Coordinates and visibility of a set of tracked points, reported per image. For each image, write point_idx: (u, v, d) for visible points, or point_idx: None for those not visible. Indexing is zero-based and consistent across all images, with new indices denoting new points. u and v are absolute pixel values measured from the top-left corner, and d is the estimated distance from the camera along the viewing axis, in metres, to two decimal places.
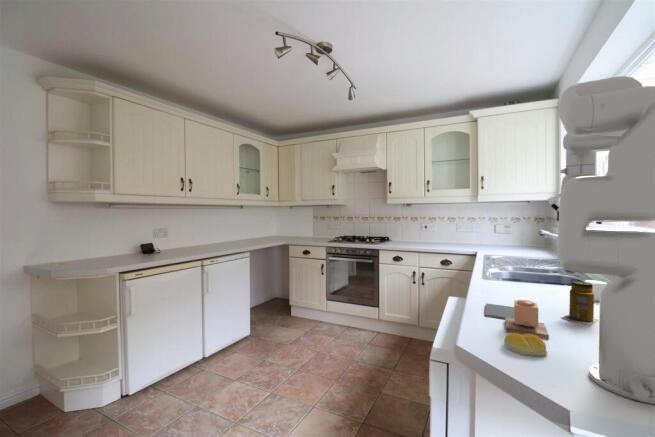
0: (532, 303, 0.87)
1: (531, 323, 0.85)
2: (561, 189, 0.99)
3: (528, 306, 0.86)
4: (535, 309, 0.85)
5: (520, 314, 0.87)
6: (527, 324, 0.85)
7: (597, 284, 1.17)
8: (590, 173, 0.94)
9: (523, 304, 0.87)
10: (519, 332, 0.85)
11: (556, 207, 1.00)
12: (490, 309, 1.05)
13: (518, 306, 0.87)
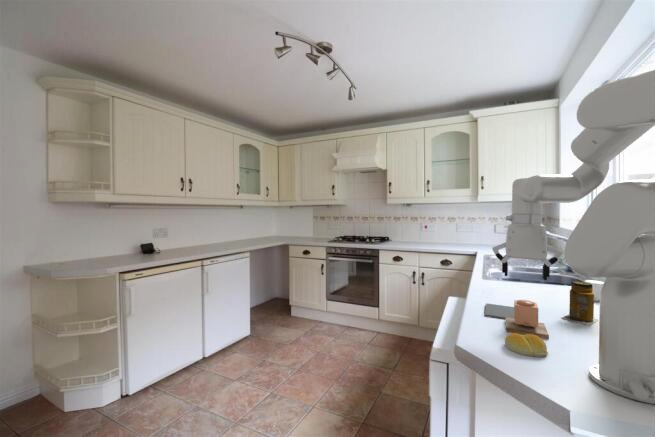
0: (532, 303, 0.87)
1: (531, 323, 0.85)
2: (506, 238, 0.90)
3: (528, 306, 0.86)
4: (535, 309, 0.85)
5: (520, 314, 0.87)
6: (527, 324, 0.85)
7: (597, 284, 1.17)
8: (535, 224, 0.84)
9: (523, 304, 0.87)
10: (519, 332, 0.85)
11: (500, 257, 0.91)
12: (490, 309, 1.05)
13: (518, 306, 0.87)
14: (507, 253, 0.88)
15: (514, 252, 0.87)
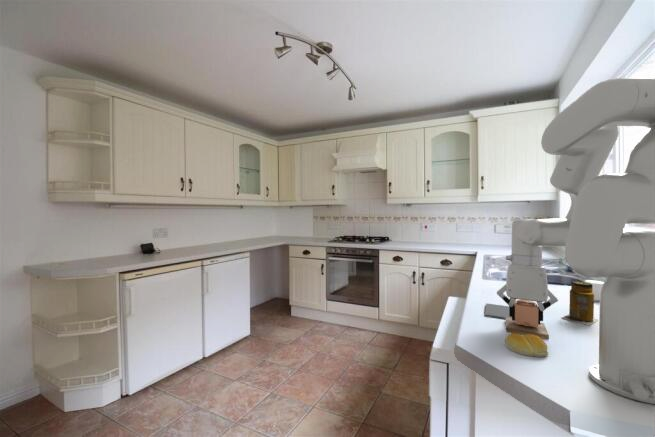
0: (532, 303, 0.87)
1: (531, 323, 0.85)
2: (506, 278, 0.90)
3: (528, 306, 0.86)
4: (535, 309, 0.85)
5: (520, 314, 0.87)
6: (527, 324, 0.85)
7: (597, 284, 1.17)
8: (535, 266, 0.84)
9: (523, 304, 0.87)
10: (519, 332, 0.85)
11: (508, 301, 0.90)
12: (490, 309, 1.05)
13: (518, 306, 0.87)
14: (508, 293, 0.88)
15: (514, 293, 0.87)
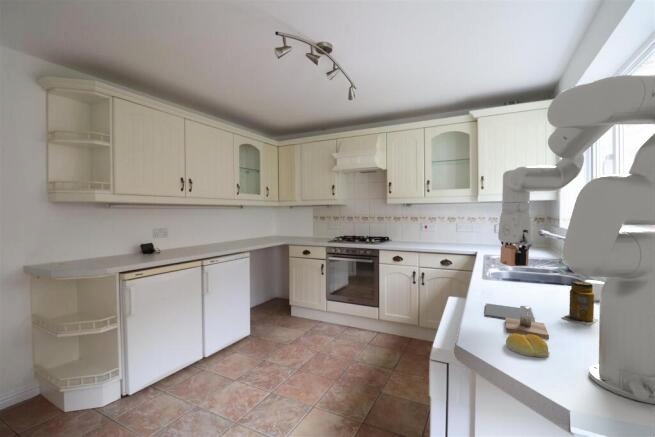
0: (515, 246, 0.95)
1: (507, 262, 0.96)
2: None
3: (507, 247, 0.96)
4: (509, 250, 0.95)
5: (502, 254, 0.98)
6: (503, 262, 0.97)
7: (597, 284, 1.17)
8: (509, 211, 0.94)
9: (506, 246, 0.97)
10: (519, 332, 0.85)
11: None
12: (490, 309, 1.05)
13: (502, 247, 0.99)
14: (498, 237, 1.01)
15: (501, 236, 1.00)
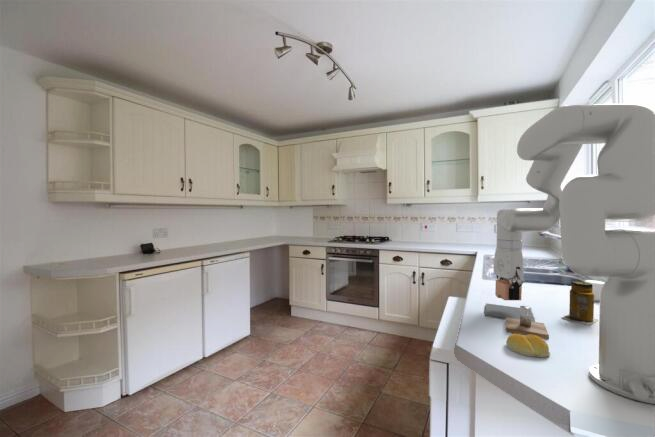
0: None
1: (501, 296, 1.01)
2: None
3: (502, 282, 1.02)
4: (503, 285, 1.00)
5: (497, 287, 1.04)
6: (497, 296, 1.02)
7: (597, 284, 1.17)
8: (503, 248, 1.00)
9: (501, 280, 1.03)
10: (519, 332, 0.85)
11: None
12: (490, 309, 1.05)
13: (497, 281, 1.04)
14: None
15: (495, 270, 1.05)
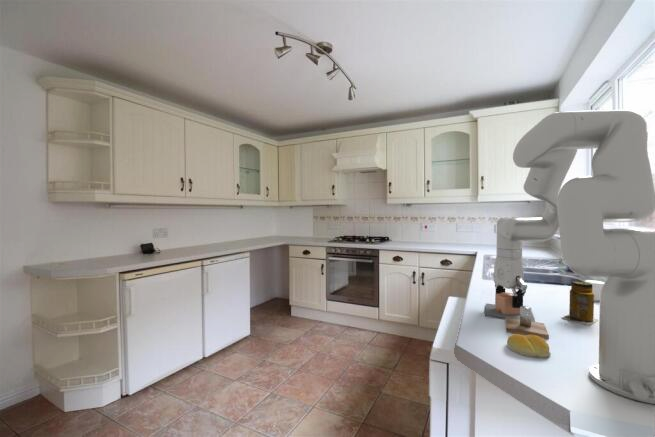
0: (508, 295, 1.01)
1: (501, 310, 1.01)
2: None
3: (501, 296, 1.02)
4: (503, 299, 1.00)
5: (497, 301, 1.04)
6: (497, 310, 1.02)
7: (597, 284, 1.17)
8: (503, 257, 1.00)
9: (500, 294, 1.03)
10: (519, 332, 0.85)
11: (496, 283, 1.08)
12: (490, 309, 1.05)
13: (496, 295, 1.05)
14: None
15: (496, 279, 1.05)
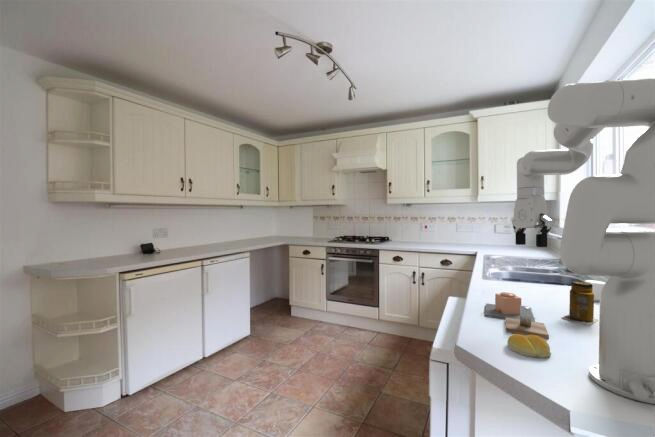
0: (508, 295, 1.01)
1: (501, 310, 1.01)
2: None
3: (501, 296, 1.02)
4: (503, 299, 1.00)
5: (497, 301, 1.04)
6: (497, 310, 1.02)
7: (597, 284, 1.17)
8: (524, 196, 0.96)
9: (500, 294, 1.03)
10: (519, 332, 0.85)
11: (515, 228, 1.04)
12: (490, 309, 1.05)
13: (496, 295, 1.05)
14: (513, 224, 1.02)
15: (516, 222, 1.01)
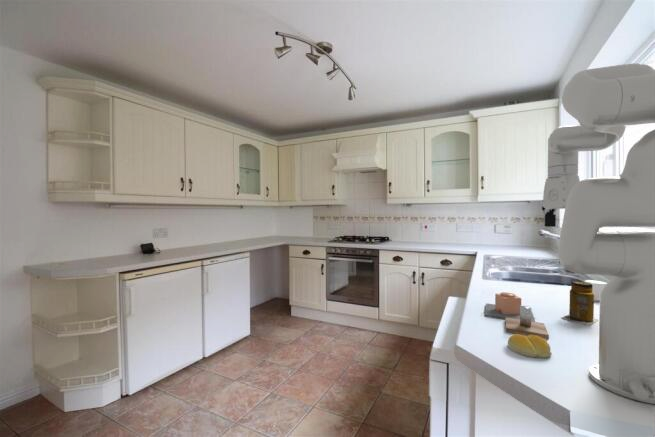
0: (508, 295, 1.01)
1: (501, 310, 1.01)
2: None
3: (501, 296, 1.02)
4: (503, 299, 1.00)
5: (497, 301, 1.04)
6: (497, 310, 1.02)
7: (597, 284, 1.17)
8: (556, 175, 0.91)
9: (500, 294, 1.03)
10: (519, 332, 0.85)
11: (544, 210, 0.99)
12: (490, 309, 1.05)
13: (496, 295, 1.05)
14: (543, 204, 0.98)
15: (546, 203, 0.96)
